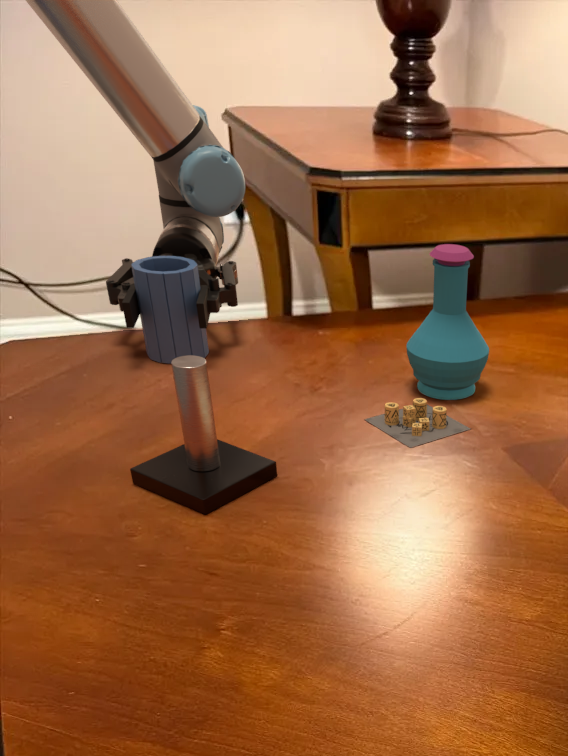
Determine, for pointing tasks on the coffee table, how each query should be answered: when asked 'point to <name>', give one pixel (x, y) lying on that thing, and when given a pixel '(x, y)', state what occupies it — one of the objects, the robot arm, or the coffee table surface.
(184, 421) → the peg on square base
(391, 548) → the coffee table surface
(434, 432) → the dice set
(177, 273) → the blue sleeve
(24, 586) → the coffee table surface
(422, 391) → the perfume bottle
